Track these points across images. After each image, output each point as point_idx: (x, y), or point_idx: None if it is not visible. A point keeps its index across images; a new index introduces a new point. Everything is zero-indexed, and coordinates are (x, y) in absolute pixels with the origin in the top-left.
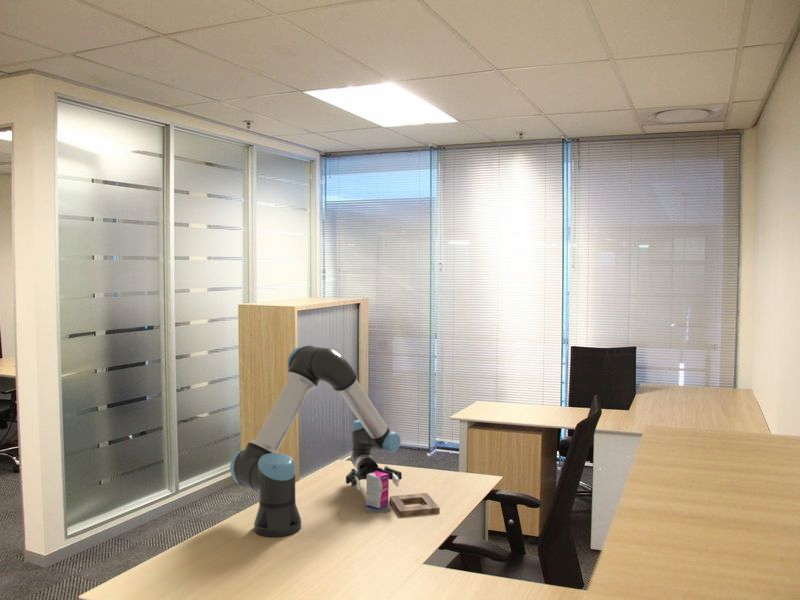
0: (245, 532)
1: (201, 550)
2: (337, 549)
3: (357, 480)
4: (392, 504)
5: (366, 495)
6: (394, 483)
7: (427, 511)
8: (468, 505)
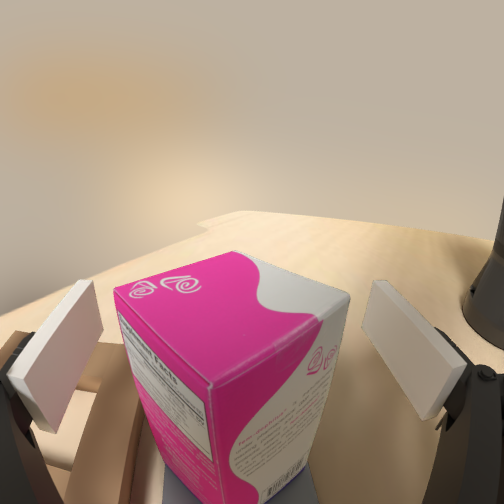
0: None
1: None
2: (346, 261)
3: (403, 300)
4: (130, 486)
5: (315, 431)
6: (81, 369)
7: None
8: None
